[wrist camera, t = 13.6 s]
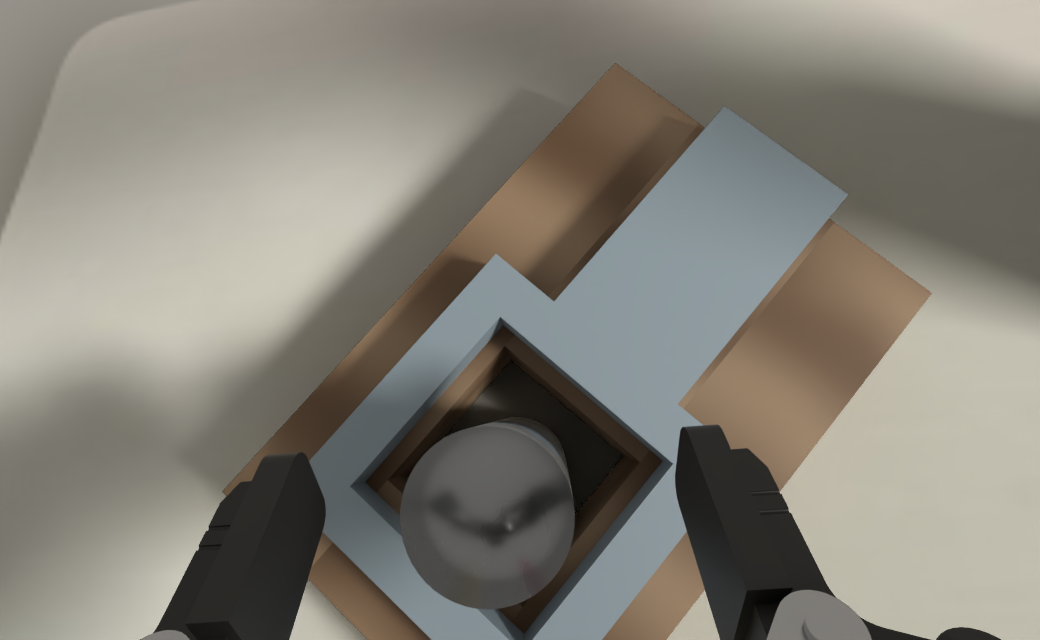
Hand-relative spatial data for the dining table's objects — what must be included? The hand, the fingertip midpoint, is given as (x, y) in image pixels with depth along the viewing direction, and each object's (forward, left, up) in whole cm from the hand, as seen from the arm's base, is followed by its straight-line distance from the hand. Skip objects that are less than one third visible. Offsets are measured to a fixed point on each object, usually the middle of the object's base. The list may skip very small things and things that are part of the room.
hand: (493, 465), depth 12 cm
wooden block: (-3, 0, -11) cm, 11 cm away
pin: (+1, +1, -11) cm, 11 cm away
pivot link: (-4, 0, -7) cm, 8 cm away
